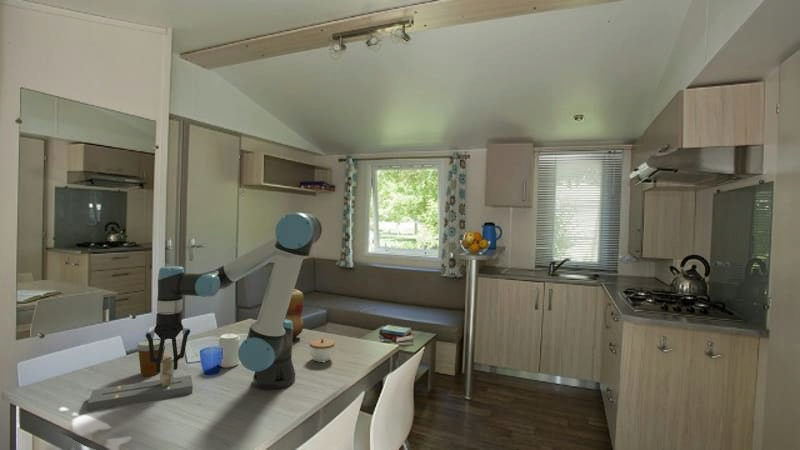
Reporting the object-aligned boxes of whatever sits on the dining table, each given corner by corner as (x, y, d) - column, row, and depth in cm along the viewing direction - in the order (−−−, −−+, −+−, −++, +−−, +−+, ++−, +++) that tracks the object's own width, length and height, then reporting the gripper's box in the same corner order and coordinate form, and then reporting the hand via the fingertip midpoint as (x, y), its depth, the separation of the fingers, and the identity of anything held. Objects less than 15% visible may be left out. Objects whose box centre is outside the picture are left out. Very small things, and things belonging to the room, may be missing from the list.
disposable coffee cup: (150, 379, 138) (152, 347, 138) (129, 376, 140) (130, 344, 140) (171, 370, 147) (172, 339, 147) (150, 367, 149) (152, 336, 149)
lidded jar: (315, 366, 158) (316, 344, 158) (304, 358, 166) (305, 337, 166) (338, 361, 165) (339, 340, 164) (326, 354, 173) (327, 333, 173)
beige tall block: (170, 380, 132) (171, 355, 132) (170, 385, 128) (171, 359, 128) (162, 382, 131) (163, 356, 131) (162, 387, 127) (163, 360, 127)
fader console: (190, 381, 138) (191, 374, 138) (192, 393, 129) (192, 385, 129) (92, 397, 123) (93, 389, 123) (87, 411, 114) (87, 402, 114)
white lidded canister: (213, 366, 153) (214, 336, 153) (229, 359, 161) (230, 331, 161) (228, 369, 150) (229, 339, 150) (243, 363, 158) (244, 334, 158)
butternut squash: (288, 344, 184) (290, 293, 184) (269, 339, 191) (271, 289, 191) (308, 337, 196) (310, 289, 196) (290, 333, 202) (292, 286, 202)
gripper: (194, 307, 137) (191, 372, 137) (142, 311, 128) (139, 379, 128) (195, 312, 130) (192, 380, 130) (141, 316, 122) (138, 388, 122)
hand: (166, 379), depth 129 cm, fingers closed on beige tall block, 2 cm apart
